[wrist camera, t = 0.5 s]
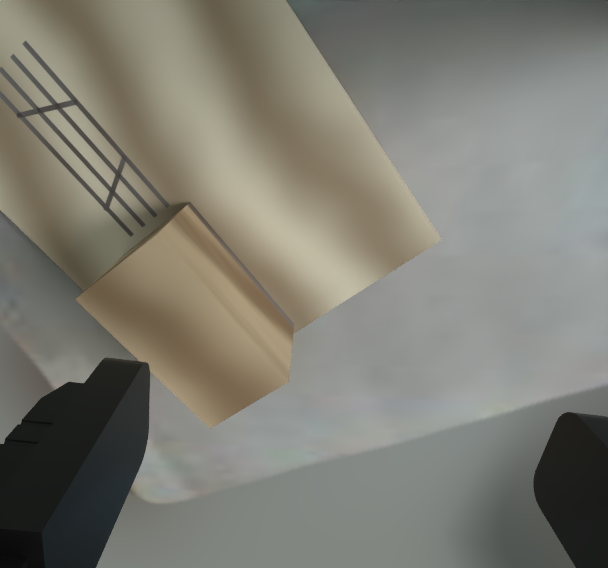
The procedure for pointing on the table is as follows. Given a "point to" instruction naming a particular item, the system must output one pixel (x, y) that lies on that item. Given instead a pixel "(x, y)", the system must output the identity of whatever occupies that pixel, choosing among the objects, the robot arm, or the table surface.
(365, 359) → the table surface
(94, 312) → the block
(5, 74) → the board
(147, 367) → the robot arm
